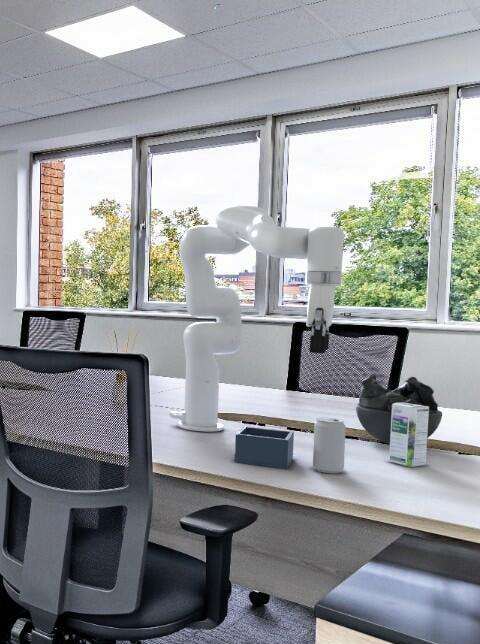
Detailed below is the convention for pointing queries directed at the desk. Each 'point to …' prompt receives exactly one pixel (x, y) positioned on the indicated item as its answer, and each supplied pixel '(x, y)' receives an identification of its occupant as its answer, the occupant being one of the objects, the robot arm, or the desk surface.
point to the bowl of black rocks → (379, 401)
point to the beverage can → (329, 445)
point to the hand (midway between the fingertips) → (319, 351)
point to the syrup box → (408, 434)
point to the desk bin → (264, 447)
